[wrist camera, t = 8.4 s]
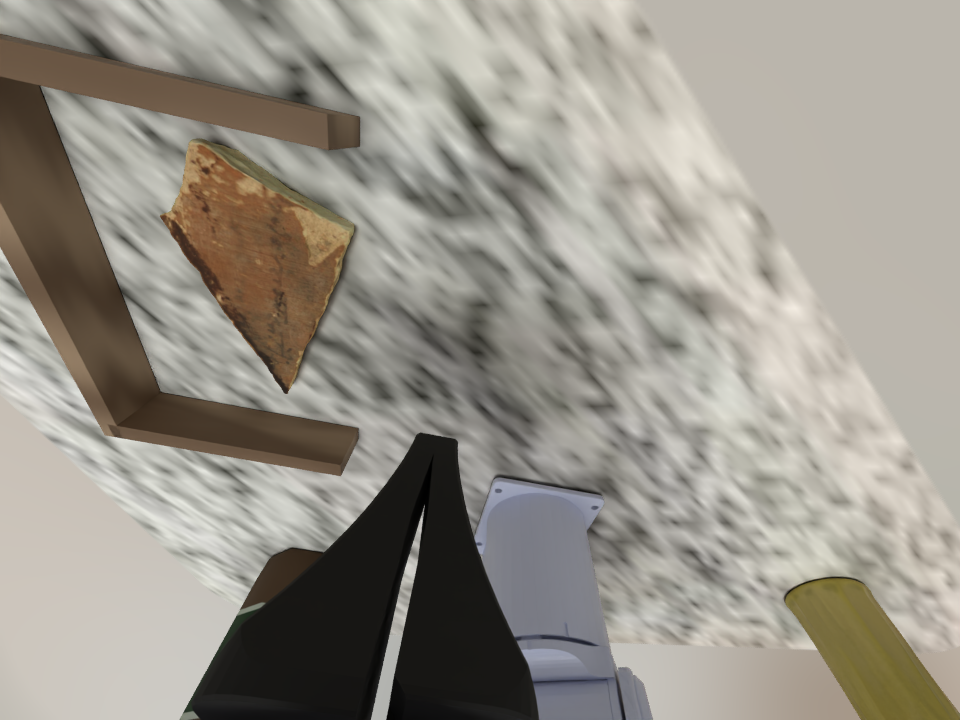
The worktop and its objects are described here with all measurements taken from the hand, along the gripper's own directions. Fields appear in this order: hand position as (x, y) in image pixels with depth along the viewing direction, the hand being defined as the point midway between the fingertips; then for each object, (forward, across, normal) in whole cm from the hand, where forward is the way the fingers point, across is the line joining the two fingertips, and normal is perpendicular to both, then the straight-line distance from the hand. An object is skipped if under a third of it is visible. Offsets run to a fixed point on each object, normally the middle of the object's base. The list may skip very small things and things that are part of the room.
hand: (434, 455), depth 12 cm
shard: (+9, +9, -2) cm, 12 cm away
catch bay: (+8, +12, 0) cm, 14 cm away
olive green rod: (+8, -35, +18) cm, 40 cm away
